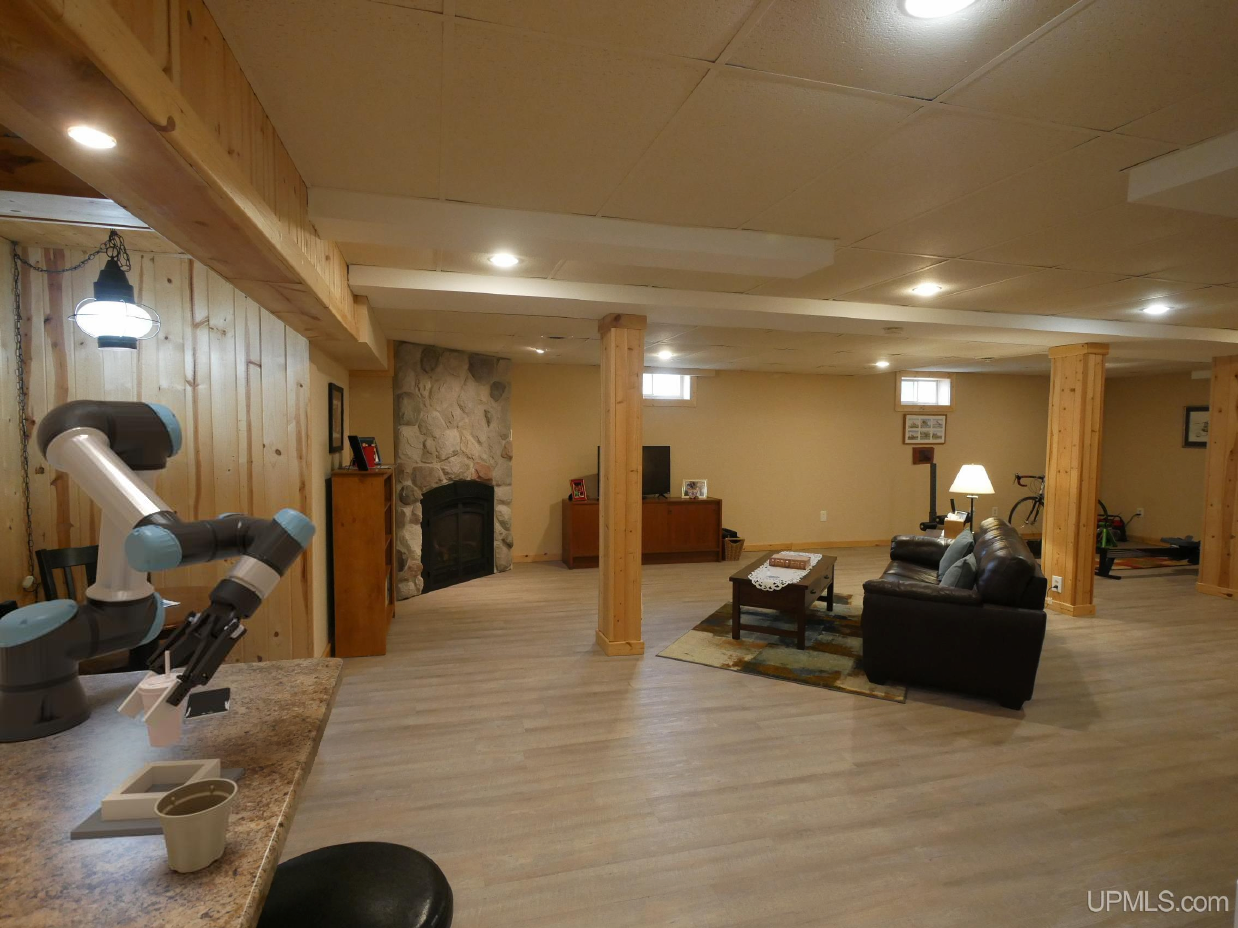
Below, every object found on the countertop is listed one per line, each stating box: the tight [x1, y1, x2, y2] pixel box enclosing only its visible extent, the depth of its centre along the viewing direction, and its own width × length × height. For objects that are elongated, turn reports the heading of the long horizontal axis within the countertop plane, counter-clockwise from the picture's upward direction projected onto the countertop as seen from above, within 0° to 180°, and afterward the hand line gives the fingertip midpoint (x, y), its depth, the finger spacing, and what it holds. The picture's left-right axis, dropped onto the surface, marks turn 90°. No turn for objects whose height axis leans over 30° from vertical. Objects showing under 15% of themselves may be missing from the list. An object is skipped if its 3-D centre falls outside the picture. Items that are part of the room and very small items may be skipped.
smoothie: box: [137, 651, 186, 748], centre depth 98 cm, size 6×6×14 cm
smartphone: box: [183, 686, 231, 723], centre depth 134 cm, size 8×1×15 cm
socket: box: [69, 758, 245, 840], centre depth 98 cm, size 16×16×4 cm
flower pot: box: [154, 778, 238, 874], centre depth 86 cm, size 9×9×9 cm
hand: (137, 719), depth 95 cm, fingers closed on smoothie, 6 cm apart
